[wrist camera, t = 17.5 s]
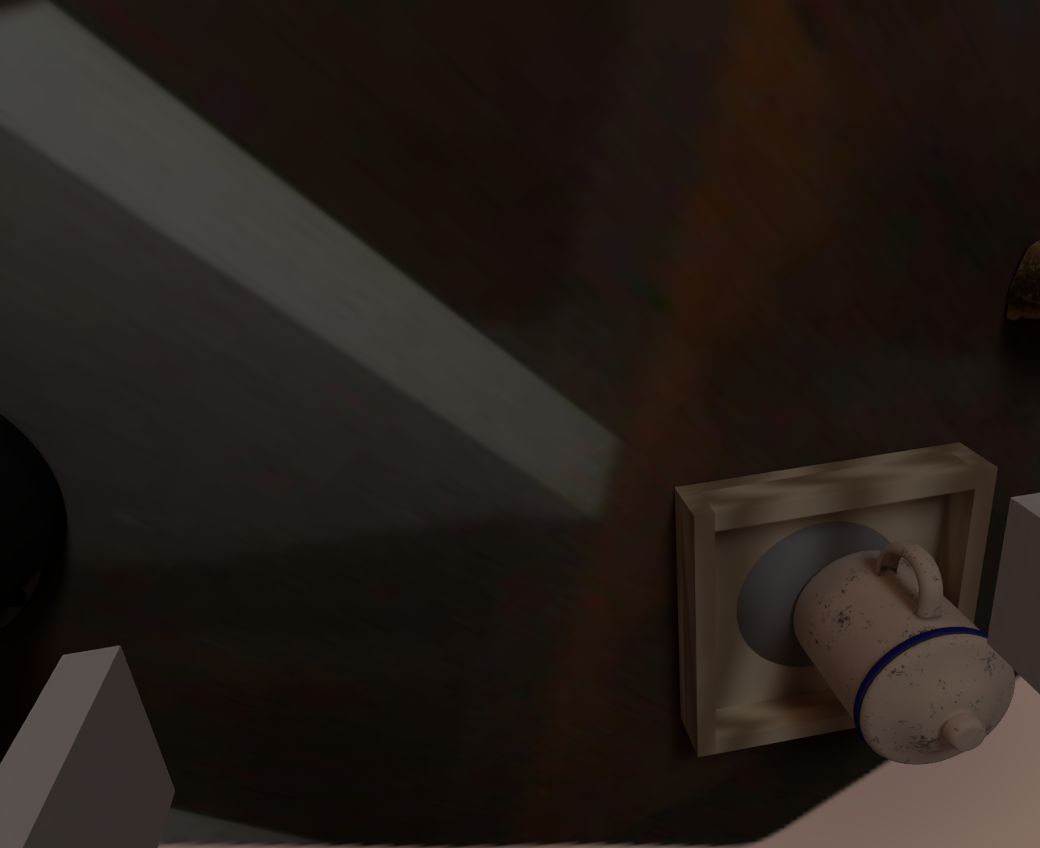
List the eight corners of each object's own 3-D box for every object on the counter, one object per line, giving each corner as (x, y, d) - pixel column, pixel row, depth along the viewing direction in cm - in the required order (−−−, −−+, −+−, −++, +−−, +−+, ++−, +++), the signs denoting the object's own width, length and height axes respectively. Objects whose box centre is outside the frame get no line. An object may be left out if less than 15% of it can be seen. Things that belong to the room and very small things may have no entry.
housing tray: (680, 718, 56) (697, 757, 53) (674, 487, 48) (694, 516, 45) (928, 672, 57) (960, 707, 54) (959, 442, 50) (997, 467, 47)
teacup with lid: (911, 651, 55) (1034, 790, 44) (782, 670, 54) (876, 816, 43) (937, 494, 50) (1083, 608, 39) (796, 512, 49) (906, 633, 38)
